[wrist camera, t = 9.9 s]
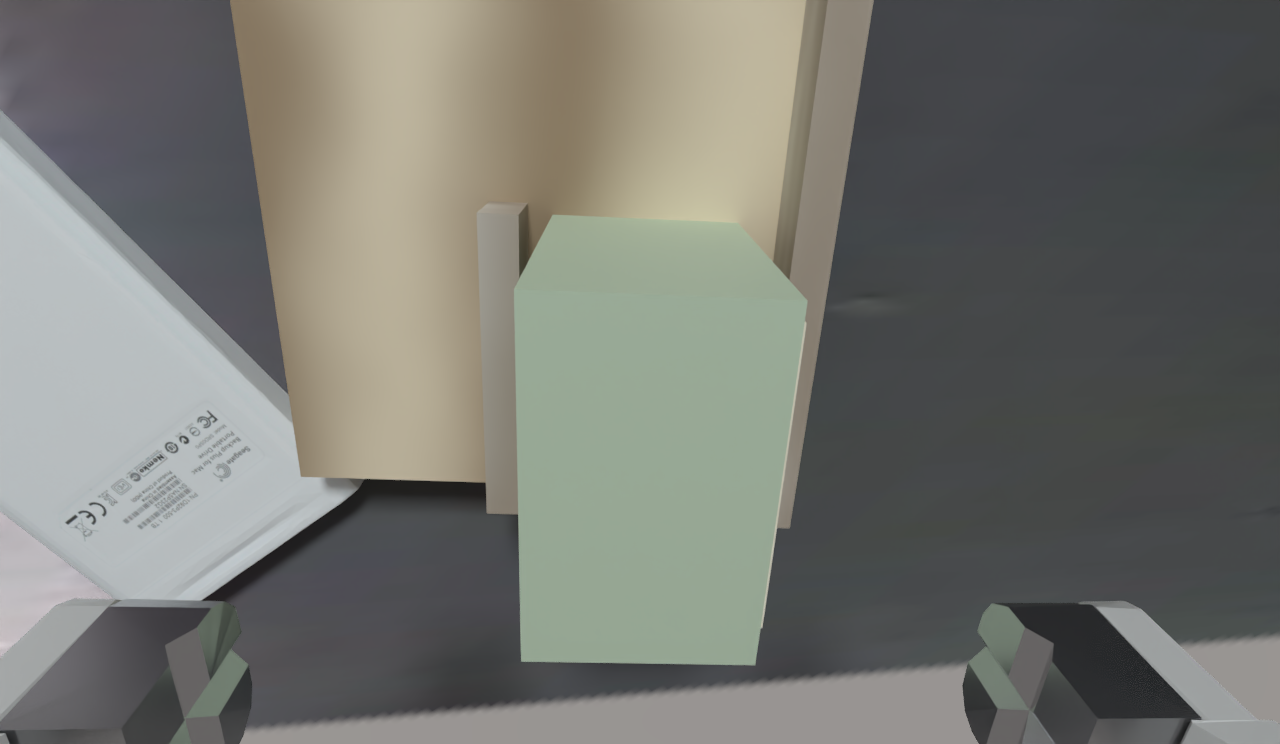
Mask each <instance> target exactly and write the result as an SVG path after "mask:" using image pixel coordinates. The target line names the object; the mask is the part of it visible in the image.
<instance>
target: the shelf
mask: <svg viewBox="0 0 1280 744" xmlns="http://www.w3.org/2000/svg"><path fill="white" fill-rule="evenodd" d="M873 1H874V0H230V3H231V10H232V17H233V23H234V30H235V37H236V44H237V50H238V57H239V64H240V71H241V77H242V84H243V91H244V97H245V104H246V111H247V118H248V124H249V131H250V138H251V145H252V151H253V158H254V165H255V172H256V178H257V185H258V192H259V198H260V205H261V212H262V219H263V225H264V232H265V239H266V246H267V252H268V259H269V266H270V273H271V279H272V286H273V293H274V300H275V306H276V313H277V320H278V326H279V333H280V340H281V347H282V353H283V360H284V367H285V374H286V380H287V387H288V394H289V401H290V407H291V414H292V421H293V428H294V434H295V441H296V448H297V454H298V461H299V468H300V475H301V477H322V478H355V479H387V480H420V481H452V482H485V483H486V504H487V513H488V514H518V476H517V424H516V373H515V322H514V288H515V286H516V284H517V282H518V280H519V278H520V276H521V275H522V273H523V271H524V269H525V267H526V265H527V263H528V261H529V259H530V257H531V255H532V253H533V251H534V250H535V248H536V246H537V244H538V242H539V240H540V238H541V236H542V234H543V232H544V230H545V228H546V226H547V225H548V223H549V221H550V219H551V217H552V215H573V216H596V217H618V218H641V219H663V220H686V221H708V222H731V223H739V225H740V226H741V227H742V228H743V229H744V230H745V231H746V232H747V233H748V235H749V236H750V237H751V238H752V239H753V240H754V241H755V242H756V244H757V245H758V246H759V247H760V248H761V249H762V250H763V251H764V253H765V254H766V255H767V256H768V257H769V258H770V259H771V260H772V261H773V263H774V264H775V265H776V266H777V267H778V268H779V269H780V270H781V272H782V273H783V274H784V275H785V276H786V277H787V278H788V279H789V280H790V282H791V283H792V284H793V285H794V286H795V287H796V288H797V289H798V291H799V292H800V293H801V294H802V295H803V296H804V297H805V298H806V299H807V301H808V302H807V309H806V316H805V322H806V323H807V324H806V331H805V338H804V345H803V352H802V359H801V366H800V373H799V379H798V386H797V393H796V400H795V407H794V414H793V421H792V427H791V434H790V441H789V448H788V455H787V462H786V469H785V476H784V482H783V489H782V496H781V503H780V510H779V517H778V524H777V528H790V523H791V516H792V510H793V504H794V497H795V491H796V485H797V479H798V472H799V466H800V460H801V453H802V447H803V441H804V435H805V428H806V422H807V416H808V409H809V403H810V397H811V391H812V384H813V378H814V372H815V365H816V359H817V353H818V347H819V340H820V334H821V328H822V321H823V315H824V309H825V303H826V296H827V290H828V284H829V277H830V271H831V265H832V259H833V252H834V246H835V240H836V233H837V227H838V221H839V215H840V208H841V202H842V196H843V189H844V183H845V177H846V171H847V164H848V158H849V152H850V145H851V139H852V133H853V127H854V120H855V114H856V108H857V101H858V95H859V89H860V83H861V76H862V70H863V64H864V57H865V51H866V45H867V39H868V32H869V26H870V20H871V13H872V7H873Z"/></svg>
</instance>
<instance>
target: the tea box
mask: <svg viewBox="0 0 1280 744" xmlns="http://www.w3.org/2000/svg"><path fill="white" fill-rule="evenodd" d="M807 302H808V301H807V299H806V298H805V297H804V296H803V295H802V294H801V293H800V292H799V291H798V289H797V288H796V287H795V286H794V285H793V284H792V283H791V282H790V280H789V279H788V278H787V277H786V276H785V275H784V274H783V273H782V272H781V270H780V269H779V268H778V267H777V266H776V265H775V264H774V263H773V261H772V260H771V259H770V258H769V257H768V256H767V255H766V254H765V253H764V251H763V250H762V249H761V248H760V247H759V246H758V245H757V244H756V242H755V241H754V240H753V239H752V238H751V237H750V236H749V235H748V233H747V232H746V231H745V230H744V229H743V228H742V227H741V226H740V225H739V223H731V222H708V221H686V220H663V219H641V218H618V217H596V216H573V215H552V217H551V219H550V221H549V223H548V225H547V226H546V228H545V230H544V232H543V234H542V236H541V238H540V240H539V242H538V244H537V246H536V248H535V250H534V251H533V253H532V255H531V257H530V259H529V261H528V263H527V265H526V267H525V269H524V271H523V273H522V275H521V276H520V278H519V280H518V282H517V284H516V286H515V288H514V322H515V373H516V424H517V476H518V527H519V578H520V629H521V662H583V663H647V664H712V665H755V662H756V656H757V649H758V642H759V635H760V628H762V627H763V620H764V613H765V606H766V599H767V592H768V585H769V579H770V572H771V565H772V558H773V551H774V544H775V537H776V530H777V524H778V517H779V510H780V503H781V496H782V489H783V482H784V476H785V469H786V462H787V455H788V448H789V441H790V434H791V427H792V421H793V414H794V407H795V400H796V393H797V386H798V379H799V373H800V366H801V359H802V352H803V345H804V338H805V331H806V324H807V323H806V322H805V316H806V309H807Z"/></svg>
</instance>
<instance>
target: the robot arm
mask: <svg viewBox="0 0 1280 744" xmlns="http://www.w3.org/2000/svg"><path fill="white" fill-rule="evenodd" d="M241 632H242V631H241V627H240V624H239V620H238V616H237V612H236V608H235V606H233V605H231V604H228V603H226V602H224V601H194V600H154V599H124V600H116V599H77V598H74V599H72V600H69V601H66V602H64V603H61V604H58V605H56V606H55V607H54V608H52V609H51V610H50V611H49V612H48V613H47V614H46V615H45V616H44V617H43V618H42V619H41V620H40V621H39V622H38V623H37V624H36V625H35V626H33V627H32V628H31V629H30V630H29V631H28V632H27V633H26V634H25V635H24V636H23V637H22V638H21V639H20V640H19V641H18V642H17V643H16V644H14V645H13V646H12V647H11V648H10V649H9V650H8V651H7V652H6V653H5V654H4V655H3V656H2V657H1V658H0V744H239V743H240V741H241V739H242V737H243V735H244V731H245V727H246V724H247V720H248V716H249V713H250V709H251V701H252V681H251V675H250V670H249V665H248V664H247V663H246V662H244V661H243V660H242V659H241V658H240V657H239V656H238V655H237V654H235V653H234V652H233V651H232V650H231V648H232V646H233V645H234V643H235V641H236V640H237V638H238V637H239V635H240V634H241ZM977 632H978V633H979V635H980V637H981V639H982V640H983V642H984V644H985V646H986V647H985V648H984V649H983V650H982V651H980V652H979V653H978V654H977V655H976V656H975V657H974V658H973V659H971V660H970V661H969V662H968V665H967V669H966V673H965V678H964V682H963V696H964V706H965V712H966V716H967V718H968V721H969V724H970V727H971V730H972V732H973V734H974V736H975V738H976V740H977V741H978V743H979V744H1280V724H1279V723H1277V722H1275V721H1273V720H1257V719H1256V718H1255V717H1254V716H1253V715H1252V714H1251V713H1250V712H1249V711H1248V710H1247V709H1245V708H1244V707H1243V706H1242V705H1241V704H1240V703H1239V702H1238V701H1237V700H1236V699H1235V698H1234V697H1233V696H1232V695H1231V694H1230V693H1229V692H1227V690H1225V689H1224V688H1223V687H1222V686H1221V685H1220V684H1219V683H1218V682H1217V681H1216V680H1215V679H1214V678H1213V677H1212V676H1211V675H1210V674H1209V673H1208V672H1206V670H1204V669H1203V668H1202V667H1201V666H1200V665H1199V664H1198V663H1197V662H1196V661H1195V660H1194V659H1193V658H1192V657H1191V656H1190V655H1189V654H1188V653H1187V652H1186V651H1185V650H1183V649H1182V648H1181V647H1180V646H1179V645H1178V644H1177V643H1176V642H1175V641H1174V640H1173V639H1172V638H1171V637H1170V636H1169V635H1168V634H1167V633H1166V632H1165V631H1164V630H1162V629H1161V628H1160V627H1159V626H1158V625H1157V624H1156V623H1155V622H1154V621H1153V620H1152V619H1151V618H1150V617H1149V616H1148V615H1147V614H1146V613H1145V612H1144V611H1143V610H1141V609H1140V608H1138V607H1136V606H1134V605H1132V604H1130V603H1128V602H1125V601H1098V602H1079V603H992V604H991V605H990V606H989V607H988V609H987V610H986V611H985V612H984V613H983V615H982V618H981V622H980V625H979V628H978V631H977Z"/></svg>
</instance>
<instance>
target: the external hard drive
mask: <svg viewBox="0 0 1280 744" xmlns="http://www.w3.org/2000/svg"><path fill="white" fill-rule="evenodd" d="M363 481H364V479H355V478H322V477H301V475H300V468H299V461H298V454H297V448H296V441H295V434H294V428H293V421H292V414H291V407H290V401H289V395H288V394H287V393H286V392H285V391H284V390H283V389H282V388H281V387H280V386H279V385H278V384H277V383H276V382H275V381H274V380H273V379H272V378H271V377H270V376H269V375H268V374H267V373H266V372H265V371H264V370H263V369H262V368H261V367H260V366H259V365H258V364H257V363H256V362H255V361H254V360H253V359H252V358H251V357H250V356H249V355H248V354H247V353H246V352H245V351H244V350H243V349H242V348H241V347H240V346H239V345H238V344H237V343H236V342H235V341H234V340H233V339H232V338H231V337H230V336H229V335H228V334H227V333H226V332H225V331H224V330H223V329H222V328H221V327H220V326H219V325H218V324H217V323H216V322H215V321H214V320H212V319H211V318H210V317H209V316H208V315H207V314H206V313H205V312H204V311H203V310H202V309H201V308H200V307H199V306H198V305H197V304H196V303H195V302H194V301H193V300H192V299H191V298H190V297H189V296H188V295H187V294H186V293H185V292H184V291H183V290H182V289H181V288H180V287H179V286H178V285H177V284H176V283H175V282H174V281H173V280H172V279H171V278H170V277H169V276H168V275H167V274H166V273H165V272H164V271H163V270H162V269H161V268H160V267H159V266H158V265H157V264H156V263H155V262H154V261H153V260H152V259H151V258H150V257H149V256H148V255H147V254H146V253H145V252H144V251H143V250H142V249H141V248H140V247H139V246H138V245H137V244H136V243H135V242H134V241H133V240H132V239H131V238H130V237H129V236H128V235H127V234H126V233H125V232H124V231H123V230H122V229H121V228H120V227H119V226H118V225H117V224H116V223H115V222H114V221H113V220H112V219H111V218H110V217H109V216H108V215H107V214H106V213H105V212H104V211H103V210H102V209H101V208H100V207H99V206H98V205H97V204H96V203H95V202H94V201H93V200H92V199H91V198H90V197H89V196H88V195H87V194H86V193H84V192H83V191H82V190H81V189H80V188H79V187H78V186H77V185H76V184H75V183H74V182H73V181H72V180H71V179H70V178H69V177H68V176H67V175H66V174H65V173H64V172H63V171H62V170H61V169H60V168H59V167H58V166H57V165H56V164H55V163H54V162H53V161H52V160H51V159H50V158H49V157H48V156H47V155H46V154H45V153H44V152H43V151H42V150H41V149H40V148H39V147H38V146H37V145H36V144H35V143H34V142H33V141H32V140H31V139H30V138H29V137H28V136H27V135H26V134H25V133H24V132H23V131H22V130H21V129H20V128H19V127H18V126H17V125H16V124H15V123H14V122H13V121H12V120H11V119H10V118H9V117H8V116H7V115H6V114H5V113H3V112H2V111H1V110H0V512H2V513H3V514H4V515H5V516H7V517H8V518H9V519H11V520H12V521H13V522H15V523H16V524H17V525H18V526H20V527H21V528H22V529H24V530H25V531H26V532H28V533H29V534H30V535H32V536H33V537H34V538H35V539H37V540H38V541H39V542H41V543H42V544H43V545H45V546H46V547H47V548H48V549H50V550H51V551H52V552H54V553H55V554H56V555H58V556H59V557H60V558H62V559H63V560H64V561H66V562H67V563H68V564H69V565H71V566H72V567H73V568H74V569H76V570H77V571H78V572H80V573H81V574H82V575H84V576H85V577H86V578H88V579H89V580H90V581H91V582H93V583H94V584H95V585H97V586H98V587H99V588H101V589H102V590H103V591H105V592H106V593H107V594H108V595H110V596H111V597H112V598H114V599H116V600H124V599H154V600H194V601H202V600H203V599H204V598H206V597H207V596H209V595H210V594H212V593H213V592H215V591H216V590H217V589H219V588H220V587H222V586H223V585H225V584H226V583H228V582H229V581H230V580H232V579H233V578H234V577H236V576H237V575H239V574H240V573H242V572H243V571H245V570H246V569H248V568H249V567H250V566H252V565H253V564H255V563H256V562H258V561H259V560H261V559H262V558H263V557H265V556H266V555H268V554H269V553H270V552H272V551H273V550H275V549H276V548H278V547H279V546H281V545H282V544H283V543H285V542H286V541H288V540H289V539H291V538H292V537H294V536H295V535H296V534H298V533H299V532H301V531H302V530H304V529H305V528H306V527H308V526H309V525H311V524H312V523H313V522H315V521H316V520H318V519H319V518H321V517H322V516H323V515H325V514H326V513H328V512H329V511H331V510H332V509H334V508H335V507H337V506H338V505H340V504H341V503H342V502H344V501H345V500H346V499H347V498H349V497H350V496H351V495H352V494H353V493H355V492H356V491H357V490H358V489H359V487H360V486H361V484H362V482H363Z"/></svg>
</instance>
